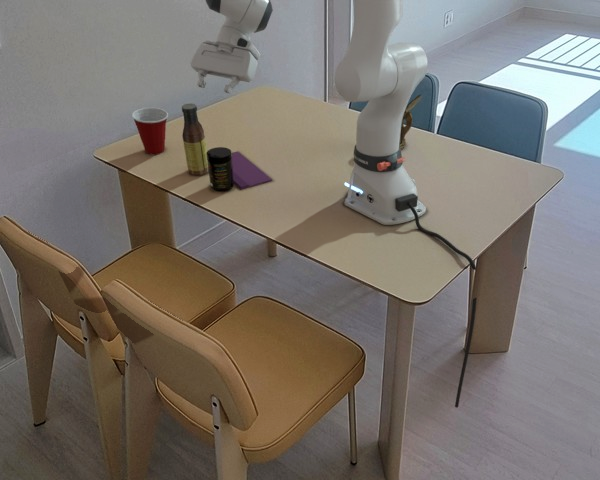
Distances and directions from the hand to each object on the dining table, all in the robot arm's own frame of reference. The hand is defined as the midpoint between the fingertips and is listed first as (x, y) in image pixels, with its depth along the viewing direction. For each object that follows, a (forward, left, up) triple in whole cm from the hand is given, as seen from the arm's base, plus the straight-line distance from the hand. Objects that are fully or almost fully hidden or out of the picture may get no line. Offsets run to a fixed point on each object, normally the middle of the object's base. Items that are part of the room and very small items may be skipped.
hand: (213, 89), depth 185 cm
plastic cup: (+16, +15, -21) cm, 30 cm away
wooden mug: (-22, -49, -21) cm, 58 cm away
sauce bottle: (-5, +9, -21) cm, 24 cm away
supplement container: (-17, +7, -21) cm, 28 cm away
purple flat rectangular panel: (-10, -1, -21) cm, 23 cm away
